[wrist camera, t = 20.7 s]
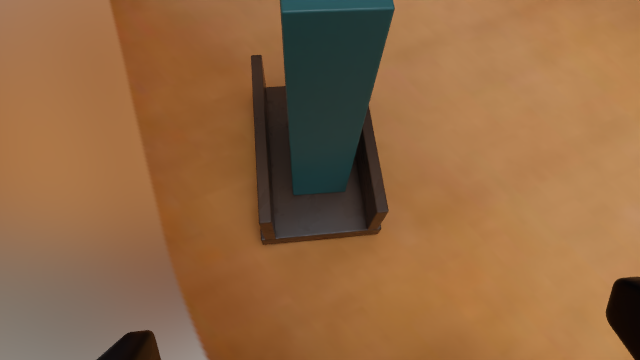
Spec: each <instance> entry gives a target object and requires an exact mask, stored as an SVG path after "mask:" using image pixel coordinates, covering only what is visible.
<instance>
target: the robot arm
mask: <svg viewBox="0 0 640 360" xmlns="http://www.w3.org/2000/svg"><path fill="white" fill-rule="evenodd" d="M606 317H607V320H608V322H609V324H610V326H611V327H612V329H613V330H614V331H615V333H616V334H617V336H618V337H619V338H620V340H621V341H622V343H623V344H624V345H625V347H626V348H627V349H628V351H629V352H630V354H631V355H632V356H633V358H634V359H635V360H640V277H627V278H620V279H618V280H616V281H615V283H614V284H613V287H612V291H611V295H610V298H609V302H608V305H607V309H606ZM97 360H161V358H160V355H159V350H158V347H157V343H156V339H155V336H154V334H153V332H152V331H149V330H145V331H136V332H130V333H127V334H126V335H124V336H123V337H122V338H121V339H120V340H118V341H117V342H116V343H115V344H114V345H113V346H112V347H110V348H109V349H108V350H107V351H106V352H105V353H104V354H103V355H101V356H100V357H99V358H98V359H97Z"/></svg>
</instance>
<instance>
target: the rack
mask: <svg viewBox="0 0 640 360" xmlns="http://www.w3.org/2000/svg"><path fill="white" fill-rule="evenodd" d="M251 66H252V87H253V108H254V129H255V150H256V170H257V191H258V212H259V224H260V228H261V241H262V244H263V245H266V244H276V243H287V242H297V241H307V240H318V239H328V238H339V237H349V236H359V235H370V234H378V233H379V231H380V230H381V225H380V224H381V223H382V221H383V219H384V218H385V216H386V215H387V213H388V205H387V200H386V195H385V189H384V184H383V179H382V173H381V168H380V163H379V158H378V152H377V147H376V142H375V136H374V131H373V126H372V120H371V115H370V110H369V105H368V109H367V113H366V116H365V120H364V124H363V127H362V131H361V135H360V139H359V142H358V146H357V150H356V153H355V157H354V161H353V164H352V168H351V172H350V176H349V179H348V183H347V187H346V190H345V192H332V193H318V194H303V195H293V188H292V174H291V159H290V145H289V130H288V115H287V100H286V86H281V87H266V83H265V76H264V69H263V62H262V56H261V55H252V56H251Z"/></svg>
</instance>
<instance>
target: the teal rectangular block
mask: <svg viewBox="0 0 640 360" xmlns="http://www.w3.org/2000/svg"><path fill="white" fill-rule="evenodd" d="M280 9H281V24H282V39H283V55H284V70H285V85H286V100H287V115H288V130H289V145H290V159H291V174H292V188H293V195H303V194H318V193H332V192H345V190H346V187H347V183H348V179H349V176H350V172H351V168H352V164H353V161H354V157H355V153H356V150H357V146H358V142H359V139H360V135H361V131H362V127H363V124H364V120H365V116H366V113H367V109H368V105H369V102H370V98H371V94H372V90H373V87H374V83H375V79H376V76H377V72H378V68H379V65H380V61H381V57H382V53H383V50H384V46H385V42H386V39H387V35H388V31H389V28H390V24H391V20H392V16H393V13H394V9H395V8H394V4H393V0H280Z"/></svg>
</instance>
